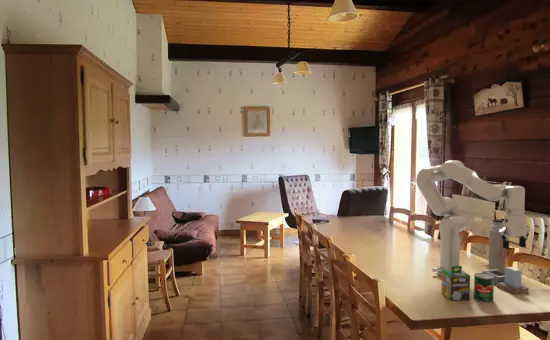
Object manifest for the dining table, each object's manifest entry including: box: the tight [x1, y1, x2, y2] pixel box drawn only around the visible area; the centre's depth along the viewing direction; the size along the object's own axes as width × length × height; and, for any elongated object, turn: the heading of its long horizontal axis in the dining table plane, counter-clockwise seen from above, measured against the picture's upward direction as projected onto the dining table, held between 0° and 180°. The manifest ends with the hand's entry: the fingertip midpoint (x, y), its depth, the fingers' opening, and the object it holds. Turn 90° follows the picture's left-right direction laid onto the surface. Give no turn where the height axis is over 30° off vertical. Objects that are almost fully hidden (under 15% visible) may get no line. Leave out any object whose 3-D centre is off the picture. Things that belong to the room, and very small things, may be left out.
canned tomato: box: [473, 272, 495, 304], centre depth 178 cm, size 8×8×11 cm
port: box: [481, 269, 505, 285], centre depth 201 cm, size 10×10×4 cm
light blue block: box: [504, 266, 523, 289], centre depth 189 cm, size 4×6×10 cm, turn 14°
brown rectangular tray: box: [496, 282, 529, 295], centre depth 189 cm, size 8×10×2 cm
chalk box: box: [441, 265, 471, 301], centre depth 181 cm, size 9×9×15 cm
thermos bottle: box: [487, 219, 506, 272], centre depth 218 cm, size 8×8×28 cm
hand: (514, 247), depth 188 cm, fingers open, 9 cm apart
